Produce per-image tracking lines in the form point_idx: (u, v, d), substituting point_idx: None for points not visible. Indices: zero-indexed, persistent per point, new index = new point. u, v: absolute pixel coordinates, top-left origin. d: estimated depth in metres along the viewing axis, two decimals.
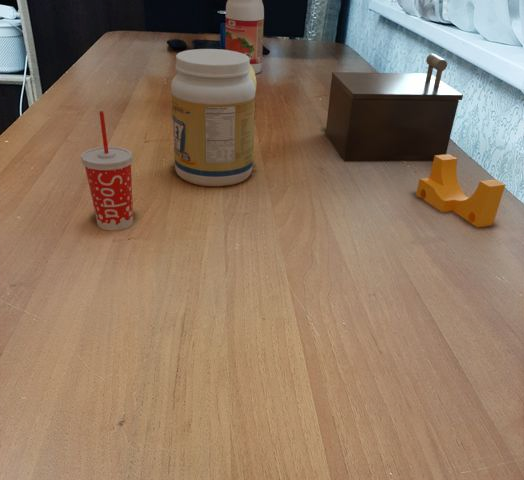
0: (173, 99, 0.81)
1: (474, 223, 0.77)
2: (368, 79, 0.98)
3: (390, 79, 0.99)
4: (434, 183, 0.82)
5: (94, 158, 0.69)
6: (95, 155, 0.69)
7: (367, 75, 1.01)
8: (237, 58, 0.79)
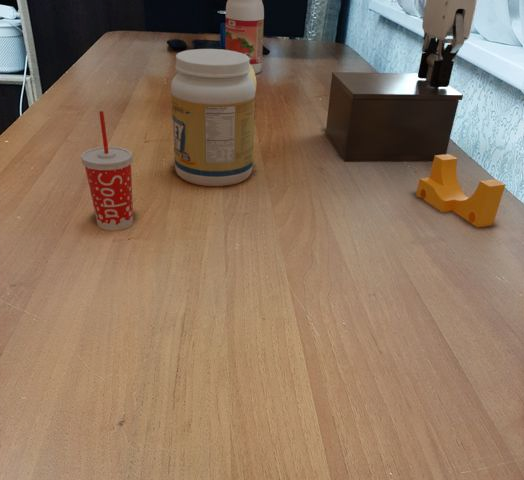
0: (173, 99, 0.81)
1: (474, 223, 0.77)
2: (368, 79, 0.98)
3: (390, 79, 0.99)
4: (434, 183, 0.82)
5: (94, 158, 0.69)
6: (95, 155, 0.69)
7: (367, 75, 1.01)
8: (237, 58, 0.79)
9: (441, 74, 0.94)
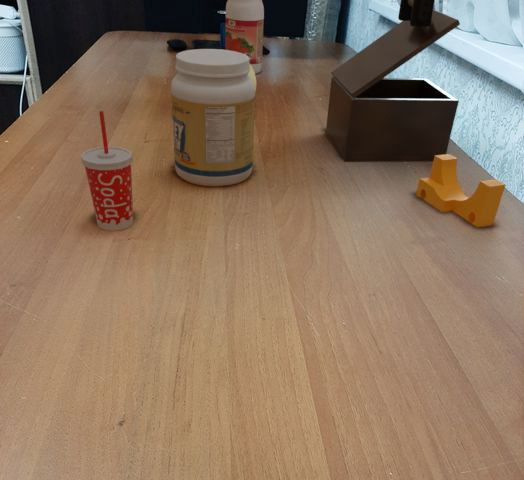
0: (173, 99, 0.81)
1: (474, 223, 0.77)
2: (364, 60, 0.97)
3: (384, 45, 0.96)
4: (434, 183, 0.82)
5: (94, 158, 0.69)
6: (95, 155, 0.69)
7: (363, 54, 0.99)
8: (237, 58, 0.79)
9: (421, 11, 0.88)
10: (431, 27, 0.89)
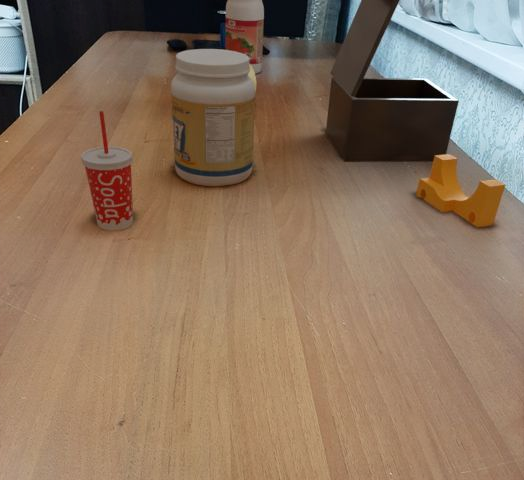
0: (173, 99, 0.81)
1: (474, 223, 0.77)
2: (350, 48, 0.95)
3: (361, 22, 0.93)
4: (434, 183, 0.82)
5: (94, 158, 0.69)
6: (95, 155, 0.69)
7: (347, 41, 0.97)
8: (237, 58, 0.79)
9: None
10: None
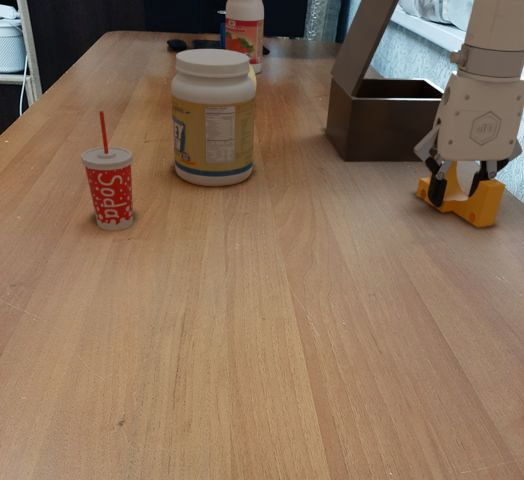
0: (173, 99, 0.81)
1: (474, 223, 0.77)
2: (350, 48, 0.95)
3: (361, 22, 0.93)
4: None
5: (94, 158, 0.69)
6: (95, 155, 0.69)
7: (347, 41, 0.97)
8: (237, 58, 0.79)
9: (429, 188, 0.79)
10: None
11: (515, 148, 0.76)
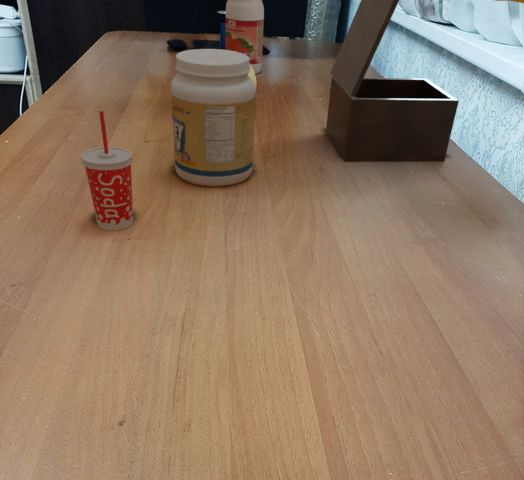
0: (173, 99, 0.81)
1: None
2: (350, 48, 0.95)
3: (361, 22, 0.93)
4: None
5: (94, 158, 0.69)
6: (95, 155, 0.69)
7: (347, 41, 0.97)
8: (237, 58, 0.79)
9: None
10: None
11: None
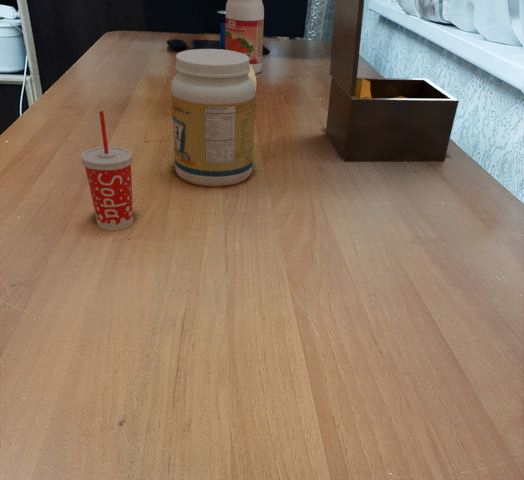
0: (173, 99, 0.81)
1: None
2: (338, 47, 0.95)
3: (340, 19, 0.93)
4: None
5: (94, 158, 0.69)
6: (95, 155, 0.69)
7: (335, 39, 0.97)
8: (237, 58, 0.79)
9: None
10: None
11: None
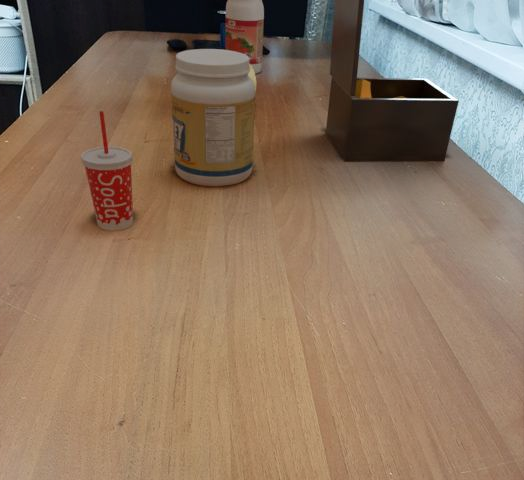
0: (173, 99, 0.81)
1: None
2: (338, 47, 0.95)
3: (340, 19, 0.93)
4: None
5: (94, 158, 0.69)
6: (95, 155, 0.69)
7: (335, 39, 0.97)
8: (237, 58, 0.79)
9: None
10: None
11: None
